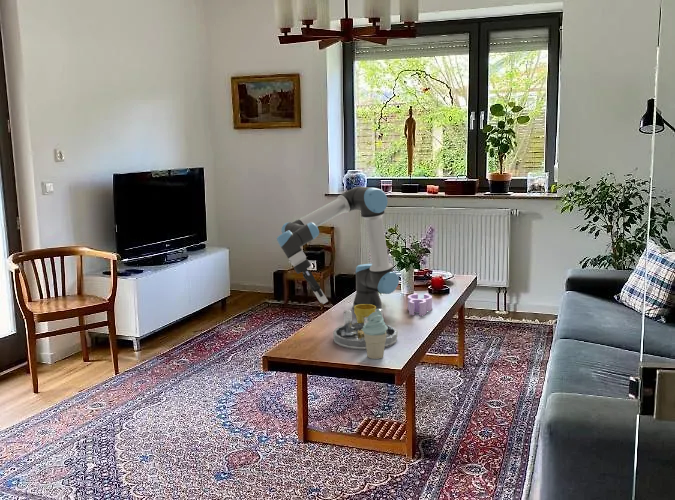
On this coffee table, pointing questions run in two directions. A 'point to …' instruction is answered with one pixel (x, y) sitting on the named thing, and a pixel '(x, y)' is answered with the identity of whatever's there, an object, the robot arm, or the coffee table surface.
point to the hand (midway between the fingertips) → (324, 302)
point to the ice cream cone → (375, 335)
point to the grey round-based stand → (348, 324)
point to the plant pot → (363, 311)
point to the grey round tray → (361, 336)
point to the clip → (419, 304)
